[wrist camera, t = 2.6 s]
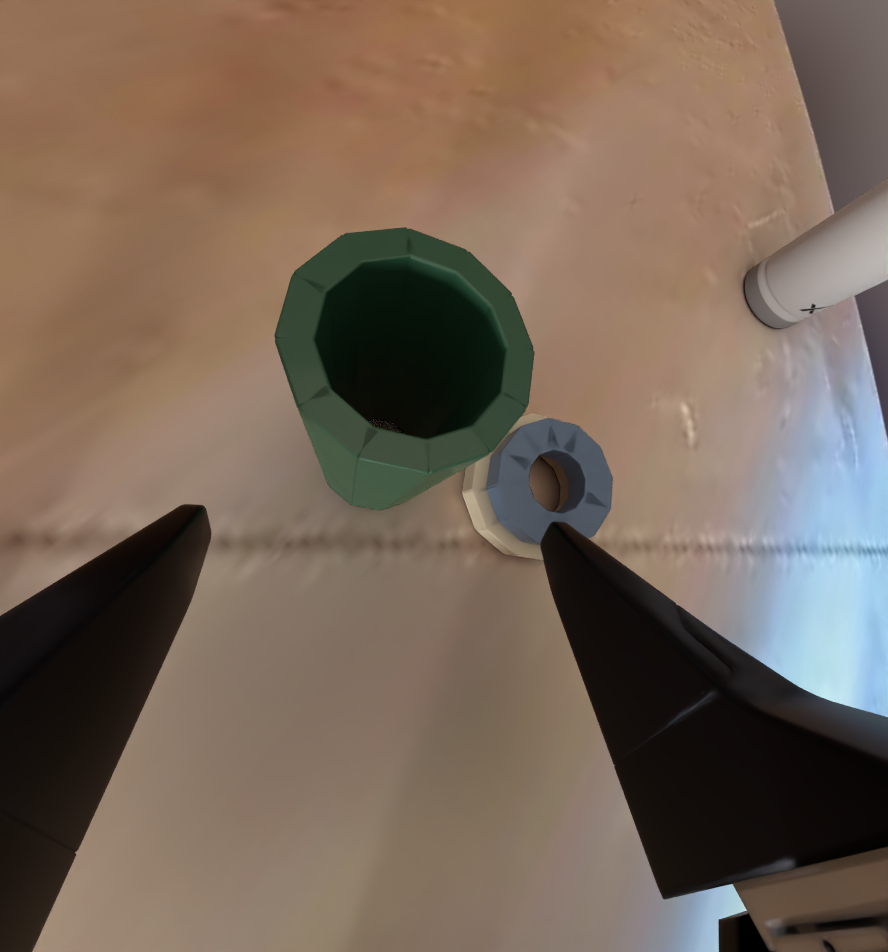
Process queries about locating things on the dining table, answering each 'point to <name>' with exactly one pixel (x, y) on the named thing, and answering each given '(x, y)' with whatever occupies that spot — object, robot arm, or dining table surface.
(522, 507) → the ring stack
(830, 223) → the travel mug
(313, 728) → the dining table surface
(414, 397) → the green pencil cup
